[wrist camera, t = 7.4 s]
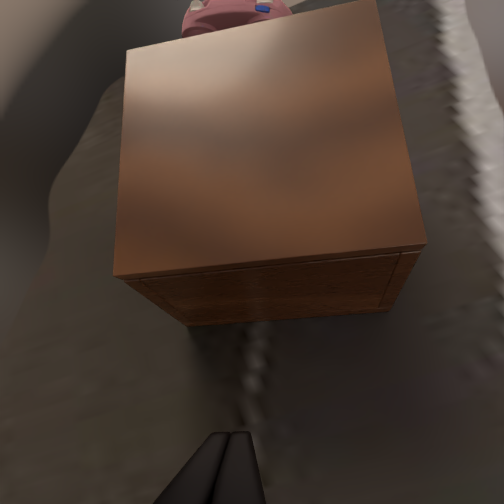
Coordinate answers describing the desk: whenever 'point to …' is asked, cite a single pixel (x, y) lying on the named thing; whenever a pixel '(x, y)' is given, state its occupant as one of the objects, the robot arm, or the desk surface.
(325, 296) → the sorter box
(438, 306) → the desk surface
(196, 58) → the sorter lid
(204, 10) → the pink rounded lump
